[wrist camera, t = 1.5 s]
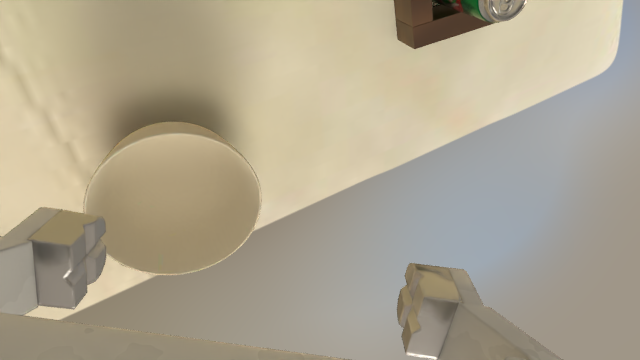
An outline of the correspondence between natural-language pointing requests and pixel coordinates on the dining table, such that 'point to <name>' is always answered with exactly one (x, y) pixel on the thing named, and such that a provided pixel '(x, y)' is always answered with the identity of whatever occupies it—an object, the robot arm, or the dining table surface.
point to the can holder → (431, 22)
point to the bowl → (174, 199)
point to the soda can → (486, 8)
